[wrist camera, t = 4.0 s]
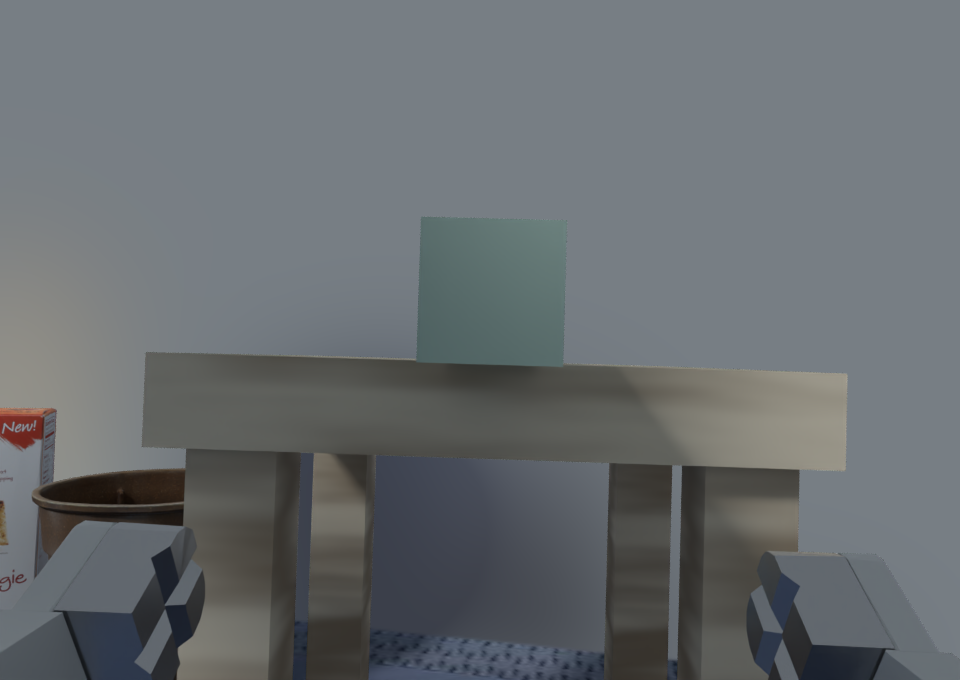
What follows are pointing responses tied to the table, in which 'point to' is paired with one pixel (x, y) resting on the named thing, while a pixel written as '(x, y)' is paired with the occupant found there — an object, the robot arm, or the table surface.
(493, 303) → the loose leg
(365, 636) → the stool
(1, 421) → the cracker box
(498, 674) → the table surface
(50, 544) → the plant pot
